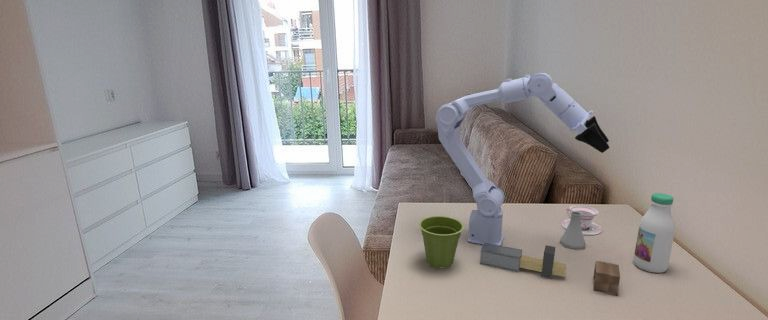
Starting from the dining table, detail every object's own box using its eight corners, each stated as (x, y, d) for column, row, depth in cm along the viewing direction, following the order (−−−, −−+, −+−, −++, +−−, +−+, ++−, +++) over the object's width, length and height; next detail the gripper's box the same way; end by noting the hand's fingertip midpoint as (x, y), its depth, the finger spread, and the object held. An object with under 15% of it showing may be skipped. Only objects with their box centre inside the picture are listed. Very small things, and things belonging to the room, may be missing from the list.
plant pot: (413, 269, 109) (413, 230, 106) (424, 249, 119) (425, 213, 116) (457, 277, 105) (459, 237, 102) (465, 256, 115) (467, 219, 112)
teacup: (603, 225, 135) (606, 207, 133) (599, 239, 125) (602, 220, 123) (564, 217, 141) (566, 200, 139) (557, 230, 131) (559, 212, 129)
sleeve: (479, 264, 111) (480, 249, 110) (483, 256, 115) (484, 242, 114) (518, 272, 107) (519, 257, 106) (520, 264, 111) (522, 249, 109)
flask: (588, 251, 118) (593, 218, 115) (562, 248, 119) (565, 216, 116) (582, 239, 125) (586, 209, 122) (557, 237, 126) (560, 207, 123)
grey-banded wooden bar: (481, 263, 111) (483, 240, 109) (485, 256, 115) (486, 234, 113) (564, 281, 102) (567, 257, 100) (565, 272, 106) (568, 249, 104)
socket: (593, 290, 99) (596, 272, 97) (593, 278, 104) (595, 260, 103) (617, 295, 97) (620, 277, 95) (615, 283, 102) (618, 264, 100)
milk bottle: (662, 261, 112) (675, 192, 106) (671, 276, 105) (685, 202, 99) (630, 257, 114) (641, 189, 109) (636, 271, 107) (649, 199, 102)
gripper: (577, 101, 98) (620, 142, 96) (579, 94, 110) (618, 130, 108) (554, 121, 101) (595, 161, 99) (559, 113, 114) (596, 148, 112)
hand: (605, 146), depth 104 cm, fingers open, 7 cm apart
